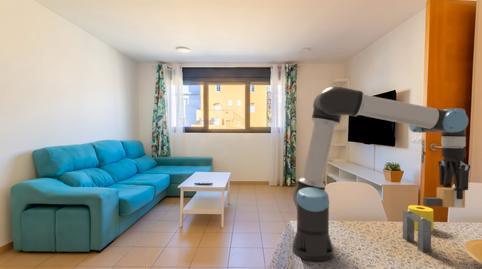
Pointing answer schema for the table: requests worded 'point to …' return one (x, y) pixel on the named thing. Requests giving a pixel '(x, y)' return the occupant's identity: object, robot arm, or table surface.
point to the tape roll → (422, 214)
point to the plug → (443, 198)
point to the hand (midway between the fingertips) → (452, 205)
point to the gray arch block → (423, 230)
